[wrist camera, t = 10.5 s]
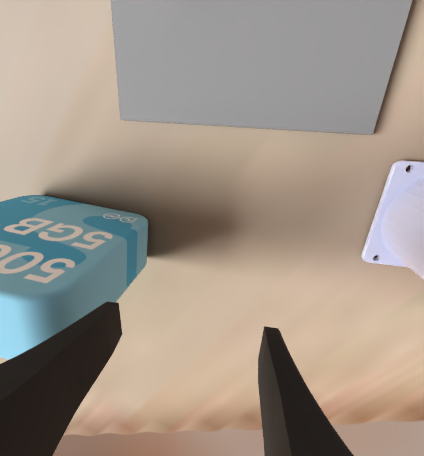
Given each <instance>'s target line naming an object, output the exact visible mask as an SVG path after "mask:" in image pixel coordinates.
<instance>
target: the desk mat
mask: <svg viewBox="0 0 424 456" xmlns="http://www.w3.org/2000/svg"><path fill="white" fill-rule="evenodd" d="M411 4H412V0H111V9H112V21H113V34H114V46H115V59H116V71H117V84H118V96H119V109H120V120H129V121H146V122H162V123H179V124H196V125H212V126H229V127H246V128H262V129H279V130H296V131H312V132H329V133H346V134H363V135H373V132H374V128H375V125H376V122H377V118H378V115H379V111H380V108H381V105H382V101H383V98H384V95H385V91H386V88H387V85H388V81H389V78H390V74H391V71H392V68H393V64H394V61H395V58H396V54H397V51H398V47H399V44H400V41H401V37H402V34H403V31H404V27H405V24H406V21H407V17H408V14H409V10H410V7H411Z"/></svg>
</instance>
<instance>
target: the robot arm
mask: <svg viewBox="0 0 424 456" xmlns="http://www.w3.org/2000/svg"><path fill="white" fill-rule="evenodd" d="M409 165H410V166H411V168H410V170H409V171H407V172H406V167H407V166H409ZM376 255H378V257H377V258H375V259H373V257H374V256H376ZM361 257H362V259H363V260H364V261H365V262H368V263H377V264H385V265H393V266H401V267H409V268H410V269H411V270H412V271H414V272H415V273H416V274H417V275H419V276H420V277H421V278H422V279H423V280H424V162H418V161H404V160H400V161H397V162H395V163H394V164H393V165H392V167H391V170H390V173H389V176H388V178H387V181H386V184H385V187H384V190H383V193H382V196H381V199H380V202H379V205H378V208H377V211H376V214H375V217H374V219H373V222H372V225H371V228H370V231H369V234H368V237H367V240H366V243H365V246H364V249H363V252H362V255H361ZM121 335H122V329H121V320H120V311H119V303H115V302H108V301H107V302H105V303H104V304H102V305H101V306H99V307H97V308H96V309H94V310H93V311H91V312H90V313H88V314H87V315H85V316H84V317H82V318H81V319H79V320H77V321H76V322H74V323H73V324H71V325H70V326H68V327H67V328H65V329H63V330H62V331H60V332H58V333H57V334H55V335H53V336H52V337H50V338H48V339H47V340H45V341H43V342H42V343H40V344H38V345H36V346H35V347H33V348H31V349H29V350H27V351H25V352H23V353H22V354H20V355H18V356H16V357H14V358H12V359H10V360H8V361H6V362H4V363H2V364H0V456H52V455H53V453H54V451H55V449H56V447H57V445H58V444H59V442H60V440H61V438H62V436H63V434H64V432H65V430H66V429H67V427H68V425H69V423H70V421H71V419H72V417H73V416H74V414H75V412H76V410H77V409H78V407H79V405H80V404H81V402H82V401H83V399H84V397H85V396H86V394H87V393H88V391H89V390H90V388H91V387H92V385H93V384H94V382H95V381H96V379H97V377H98V376H99V374H100V373H101V371H102V370H103V368H104V367H105V365H106V363H107V362H108V360H109V359H110V357H111V355H112V354H113V352H114V350H115V348H116V346H117V344H118V342H119V340H120V337H121ZM258 384H259V395H260V406H261V417H262V427H263V437H264V450H265V451H264V452H265V456H354V455H353V454H352V453H351V452H350V451H349V449H348V448H347V446H346V445H345V443H344V442H343V441H342V439H341V438H340V437H339V435H338V434H337V432H336V431H335V429H334V428H333V426H332V425H331V423H330V422H329V421H328V419H327V418H326V416H325V415H324V413H323V411H322V410H321V408H320V407H319V405H318V404H317V402H316V400H315V399H314V397H313V395H312V394H311V392H310V390H309V389H308V387H307V385H306V383H305V382H304V380H303V378H302V376H301V374H300V373H299V371H298V369H297V367H296V365H295V363H294V361H293V359H292V357H291V355H290V353H289V351H288V349H287V347H286V345H285V342H284V340H283V338H282V335H281V333H280V331H279V329H277V328H271V327H265V326H264V331H263V336H262V342H261V347H260V352H259V358H258Z"/></svg>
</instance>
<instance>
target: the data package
mask: <svg viewBox="0 0 424 456" xmlns="http://www.w3.org/2000/svg"><path fill="white" fill-rule="evenodd" d="M147 239H148V220H147V219H146V218H145V217H144V216H142V215H139V214H135V213H130V212H125V211H120V210H115V209H110V208H105V207H100V206H95V205H90V204H85V203H80V202H75V201H70V200H64V199H59V198H54V197H49V196H42V195H30V196H22V197H18V198H14V199H10V200H6V201H2V202H0V357H1V358H5V359H9V360H10V359H12V358H14V357H16V356H18V355H20V354H22V353H23V352H25V351H27V350H29V349H31V348H33V347H35V346H36V345H38V344H40V343H42V342H43V341H45V340H47V339H48V338H50V337H52V336H53V335H55V334H57V333H58V332H60V331H62V330H63V329H65V328H67V327H68V326H70V325H71V324H73V323H74V322H76V321H77V320H79V319H81V318H82V317H84V316H85V315H87V314H88V313H90V312H91V311H93V310H94V309H96V308H97V307H99V306H101V305H102V304H104V303H105V302H107V301H108V302H116V301H117V300H118V299H119V298H120V296H121V295H122V294H123V293H124V291H125V290H126V289H127V288H128V286H129V285H130V284H131V283H132V282H133V280H134V279H135V278H136V277H137V275H138V274H139V273H140V272H141V270H142V269H143V268H144V267H145V265H146V261H147Z"/></svg>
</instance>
